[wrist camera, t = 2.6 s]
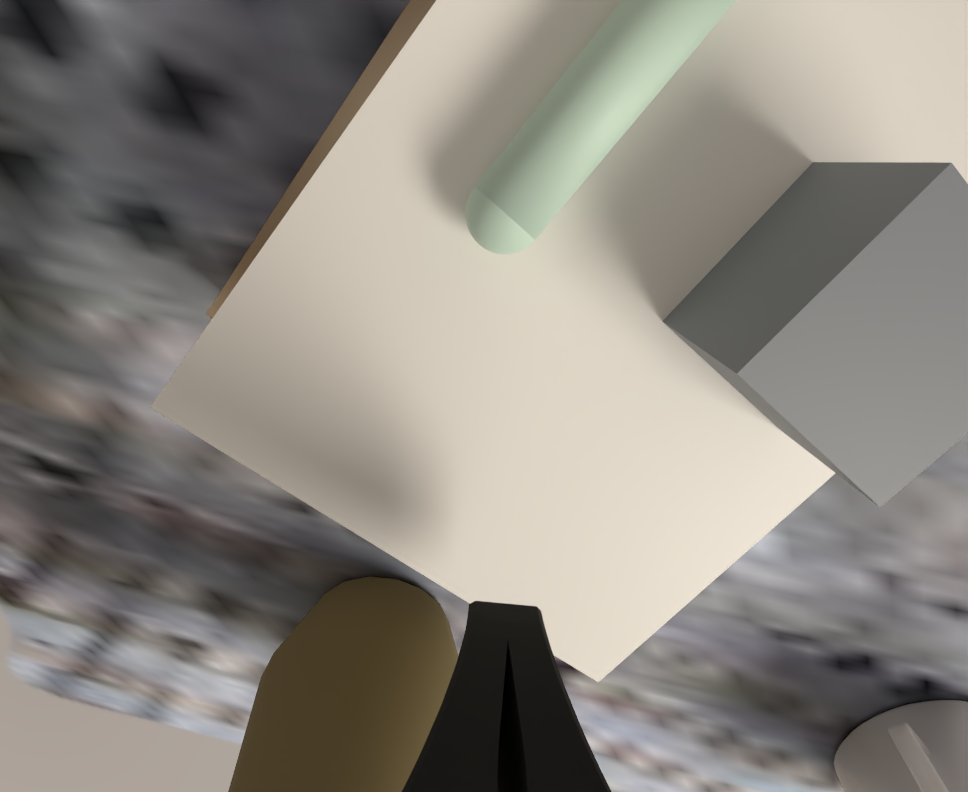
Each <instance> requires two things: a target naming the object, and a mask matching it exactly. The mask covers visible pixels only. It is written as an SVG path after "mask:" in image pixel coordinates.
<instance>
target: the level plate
mask: <svg viewBox="0 0 968 792" xmlns="http://www.w3.org/2000/svg"><path fill="white" fill-rule="evenodd" d="M150 408H151V409H153V410H155V411H156V412H158V413H160V414H161V415H163V416H164V417H166V418H168V419H169V420H171V421H173V422H174V423H176V424H178V425H179V426H181V427H182V428H184V429H186V430H187V431H189V432H191V433H192V434H194V435H195V436H197V437H199V438H200V439H202V440H204V441H205V442H207V443H209V444H210V445H212V446H213V447H215V448H217V449H218V450H220V451H222V452H223V453H225V454H226V455H228V456H230V457H231V458H233V459H235V460H236V461H238V462H240V463H241V464H243V465H244V466H246V467H248V468H249V469H251V470H253V471H254V472H256V473H258V474H259V475H261V476H262V477H264V478H266V479H267V480H269V481H271V482H272V483H274V484H275V485H277V486H279V487H280V488H282V489H284V490H285V491H287V492H289V493H290V494H292V495H293V496H295V497H297V498H298V499H300V500H302V501H303V502H305V503H306V504H308V505H310V506H311V507H313V508H315V509H316V510H318V511H320V512H321V513H323V514H324V515H326V516H328V517H329V518H331V519H333V520H334V521H336V522H338V523H339V524H341V525H342V526H344V527H346V528H347V529H349V530H351V531H352V532H354V533H355V534H357V535H359V536H360V537H362V538H364V539H365V540H367V541H369V542H370V543H372V544H373V545H375V546H377V547H378V548H380V549H382V550H383V551H385V552H386V553H388V554H390V555H391V556H393V557H395V558H396V559H398V560H400V561H401V562H403V563H404V564H406V565H408V566H409V567H411V568H413V569H414V570H416V571H417V572H419V573H421V574H422V575H424V576H426V577H427V578H429V579H431V580H432V581H434V582H435V583H437V584H439V585H440V586H442V587H444V588H445V589H447V590H449V591H450V592H452V593H453V594H455V595H457V596H458V597H460V598H462V599H463V600H465V601H466V602H468V603H470V604H471V603H472V602H474V601H484V602H495V603H505V604H516V605H527V606H537V607H538V608H539V609H540V610H541V613H542V617H543V622H544V625H545V629H546V633H547V636H548V640H549V643H550V646H551V649H552V652H553V655H555V656H556V657H558V658H560V659H561V660H563V661H564V662H566V663H568V664H569V665H571V666H573V667H574V668H576V669H577V670H579V671H581V672H582V673H584V674H586V675H587V676H589V677H591V678H592V679H594V680H595V681H597V682H599V681H600V680H601V679H603V678H604V677H605V676H606V675H607V674H608V673H609V672H610V671H612V670H613V669H614V668H615V667H616V666H617V665H618V664H620V663H621V662H622V661H623V660H624V659H625V658H626V657H628V656H629V655H630V654H631V653H632V652H633V651H634V650H635V649H637V648H638V647H639V646H640V645H641V644H642V643H643V642H645V641H646V640H647V639H648V638H649V637H650V636H651V635H652V634H654V633H655V632H656V631H657V630H658V629H659V628H660V627H662V626H663V625H664V624H665V623H666V622H667V621H668V620H669V619H671V618H672V617H673V616H674V615H675V614H676V613H677V612H679V611H680V610H681V609H682V608H683V607H684V606H685V605H687V604H688V603H689V602H690V601H691V600H692V599H693V598H694V597H696V596H697V595H698V594H699V593H700V592H701V591H702V590H704V589H705V588H706V587H707V586H708V585H709V584H710V583H711V582H713V581H714V580H715V579H716V578H717V577H718V576H719V575H721V574H722V573H723V572H724V571H725V570H726V569H727V568H728V567H730V566H731V565H732V564H733V563H734V562H735V561H736V560H738V559H739V558H740V557H741V556H742V555H743V554H744V553H746V552H747V551H748V550H749V549H750V548H751V547H752V546H753V545H755V544H756V543H757V542H758V541H759V540H760V539H761V538H763V537H764V536H765V535H766V534H767V533H768V532H769V531H770V530H772V529H773V528H774V527H775V526H776V525H777V524H778V523H780V522H781V521H782V520H783V519H784V518H785V517H786V516H788V515H789V514H790V513H791V512H792V511H793V510H794V509H795V508H797V507H798V506H799V505H800V504H801V503H802V502H803V501H805V500H806V499H807V498H808V497H809V496H810V495H811V494H812V493H814V492H815V491H816V490H817V489H818V488H819V487H820V486H822V485H823V484H824V483H825V482H826V481H827V480H828V479H829V478H831V477H832V476H833V475H834V474H835V473H836V474H838V475H839V476H840V477H842V478H843V479H844V480H845V481H847V482H848V483H849V484H851V485H852V486H853V487H854V488H856V489H857V490H858V491H860V492H861V493H862V494H863V495H865V496H866V497H867V498H869V499H870V500H871V501H872V502H874V503H875V504H876V505H878V506H879V507H881V506H882V505H883V504H884V503H886V502H887V501H888V500H889V499H890V498H892V497H893V496H894V495H895V494H896V493H898V492H899V491H900V490H901V489H902V488H903V487H905V486H906V485H907V484H908V483H909V482H911V481H912V480H913V479H914V478H915V477H916V476H918V475H919V474H920V473H921V472H922V471H924V470H925V469H926V468H927V467H928V466H930V465H931V464H932V463H933V462H934V461H935V460H937V459H938V458H939V457H940V456H941V455H943V454H944V453H945V452H946V451H947V450H948V449H950V448H951V447H952V446H953V445H954V444H956V443H957V442H958V441H959V440H960V439H962V438H963V437H964V436H965V435H966V434H967V433H968V0H436V1H435V3H434V4H433V6H432V7H431V8H430V10H429V11H428V13H427V14H426V15H425V17H424V18H423V20H422V21H421V23H420V24H419V25H418V27H417V28H416V30H415V31H414V33H413V34H412V35H411V37H410V38H409V40H408V41H407V42H406V44H405V45H404V47H403V48H402V50H401V51H400V52H399V54H398V55H397V57H396V58H395V60H394V61H393V62H392V64H391V65H390V67H389V68H388V70H387V71H386V72H385V74H384V75H383V77H382V78H381V79H380V81H379V82H378V84H377V85H376V87H375V88H374V89H373V91H372V92H371V94H370V95H369V97H368V98H367V99H366V101H365V102H364V104H363V105H362V106H361V108H360V109H359V111H358V112H357V114H356V115H355V116H354V118H353V119H352V121H351V122H350V124H349V125H348V126H347V128H346V129H345V131H344V132H343V133H342V135H341V136H340V138H339V139H338V141H337V142H336V143H335V145H334V146H333V148H332V149H331V151H330V152H329V153H328V155H327V156H326V158H325V159H324V161H323V162H322V163H321V165H320V166H319V168H318V169H317V170H316V172H315V173H314V175H313V176H312V178H311V179H310V180H309V182H308V183H307V185H306V186H305V188H304V189H303V190H302V192H301V193H300V195H299V196H298V197H297V199H296V200H295V202H294V203H293V205H292V206H291V207H290V209H289V210H288V212H287V213H286V215H285V216H284V217H283V219H282V220H281V222H280V223H279V224H278V226H277V227H276V229H275V230H274V232H273V233H272V234H271V236H270V237H269V239H268V240H267V242H266V243H265V244H264V246H263V247H262V249H261V250H260V252H259V253H258V254H257V256H256V257H255V259H254V260H253V261H252V263H251V264H250V266H249V267H248V269H247V270H246V271H245V273H244V274H243V276H242V277H241V279H240V280H239V281H238V283H237V284H236V286H235V287H234V288H233V290H232V291H231V293H230V294H229V296H228V297H227V298H226V300H225V301H224V303H223V304H222V306H221V307H220V308H219V310H218V311H217V313H216V314H215V316H214V317H213V318H212V320H211V321H210V323H209V324H208V325H207V327H206V328H205V330H204V331H203V333H202V334H201V335H200V337H199V338H198V340H197V341H196V343H195V344H194V345H193V347H192V348H191V350H190V351H189V352H188V354H187V355H186V357H185V358H184V360H183V361H182V362H181V364H180V365H179V367H178V368H177V370H176V371H175V372H174V374H173V375H172V377H171V378H170V379H169V381H168V382H167V384H166V385H165V387H164V388H163V389H162V391H161V392H160V394H159V395H158V397H157V398H156V399H155V401H154V402H153V404H152V405H151V407H150Z"/></svg>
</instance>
